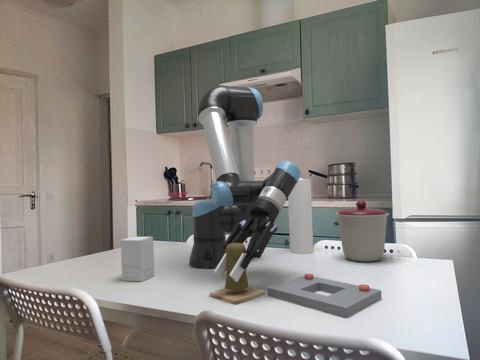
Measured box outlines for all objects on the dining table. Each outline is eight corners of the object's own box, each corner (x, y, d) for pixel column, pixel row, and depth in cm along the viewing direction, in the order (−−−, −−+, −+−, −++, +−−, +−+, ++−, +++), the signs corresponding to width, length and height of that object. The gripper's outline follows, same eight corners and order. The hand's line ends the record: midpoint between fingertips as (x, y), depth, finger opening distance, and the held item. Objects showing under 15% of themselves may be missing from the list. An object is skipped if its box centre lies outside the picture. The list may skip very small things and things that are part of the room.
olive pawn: (224, 283, 92) (223, 242, 92) (247, 282, 93) (245, 240, 93) (225, 290, 86) (224, 246, 86) (249, 289, 87) (248, 244, 87)
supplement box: (155, 275, 112) (154, 236, 112) (141, 282, 105) (140, 240, 105) (135, 274, 114) (134, 235, 114) (121, 280, 107) (119, 239, 107)
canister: (346, 252, 139) (344, 199, 139) (395, 256, 128) (393, 199, 128) (329, 261, 124) (327, 202, 124) (383, 267, 113) (381, 202, 114)
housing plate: (267, 295, 88) (267, 283, 88) (305, 281, 99) (305, 271, 99) (346, 317, 72) (345, 303, 72) (381, 298, 83) (381, 286, 83)
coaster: (209, 295, 90) (209, 292, 90) (238, 287, 96) (238, 284, 96) (235, 304, 82) (235, 301, 82) (264, 294, 89) (264, 291, 89)
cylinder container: (313, 253, 138) (310, 177, 138) (289, 253, 140) (286, 178, 140) (313, 249, 147) (310, 178, 148) (290, 249, 149) (288, 178, 150)
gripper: (238, 196, 103) (194, 262, 92) (286, 197, 90) (242, 274, 78) (252, 213, 107) (211, 278, 95) (300, 216, 93) (259, 292, 82)
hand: (225, 276), depth 87 cm, fingers closed on olive pawn, 5 cm apart
